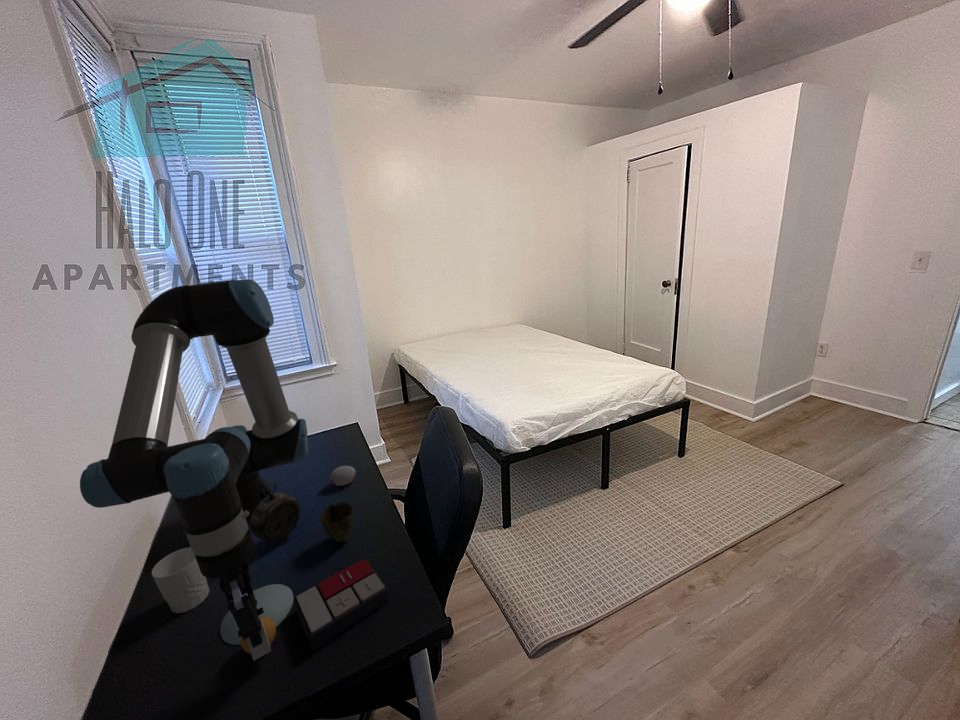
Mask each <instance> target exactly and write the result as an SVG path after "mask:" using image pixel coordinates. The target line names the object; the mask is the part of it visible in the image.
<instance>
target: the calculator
mask: <svg viewBox="0 0 960 720" xmlns="http://www.w3.org/2000/svg"><path fill="white" fill-rule="evenodd" d="M389 593H390V592H389V588H388V587H387V585H386V584H385V582H384V581H383V580H382V579H381V576H379V574H378V573H377V571H376V570H375V569H374V567H373V566H372V564H370V562H369V561H368V559H366V558H365V559H364V558H363V559H361V560H359V561H357V562H356V563H354V564H351V565H349V566H348V567H345V568H344V569H343V570H340V571H339V572H337V573H335V574H333V575H331V576H330V577H327V578H326V579H324V580H322V581H319V582H318V583H317V584H316V585H315V586H313V587H311V588H308V589H306V590H305V591H304V592H301V593H299V594H298V595H296V596H294V597H293V604H294V606H295V607H294V608H295V612H296V615H297V617H298V620H299V622H300V624H301V627H302V629H303V632H304V633H305V636H306V639H307V641H308V644H309V646H310V649H311V651H313V652H315V651H317V650H318V649H320V648H321V647H323V646H324V645H326V644H327V643H328V642H330V641H331V640H333V639H334V638H336V637H338V635H339V634H340V633H342V632H344V631H345V630H346V629H348V628H350V627H352V626H353V625H355V624H356V623H357V622H359V621H361V620H362V619H364V618H365V617H366V616H368V615H370V614H371V613H373V612H374V611H375V610H377V609H378V608H380V607H381V606H383V605H384V604H385V603H387V602H389V601H390V594H389Z"/></svg>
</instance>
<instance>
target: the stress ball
mask: <svg viewBox="0 0 960 720" xmlns="http://www.w3.org/2000/svg"><path fill="white" fill-rule="evenodd" d="M356 476H357V471H356V469H355V468H354V467H353V466H351V465H350V466H349V465H342V466H339V467H337V468H335V469H334V470H333V471H331V473H330V475H329V481H330V483H331V484H332V485H333V486H339V487H341V486H343V487H344V489H347V488H348V487H347V486H346V485H348V484H350V483H351V482H352V481H354V479H355V478H356Z"/></svg>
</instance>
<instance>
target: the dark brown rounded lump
mask: <svg viewBox="0 0 960 720" xmlns="http://www.w3.org/2000/svg"><path fill="white" fill-rule="evenodd" d="M323 510H324V512H323V513H320V514H319V520H320V522H321V524H322V527H323V530H324V531H325V533H326V535H327V536H328V537H329V538H331V539H333V540H334V541H335V542H336V543H339V544H341V543H344V542H347V540H348V539H349V538H350V533H351V531H352V529H353V527H354V515H353V512H354V511H353V505H351V503H348V502H347V501H346V502H344V501H342V502H341V503H340V502H336V504H334V503H331V504H330V505H329V506H328V507H324V509H323Z"/></svg>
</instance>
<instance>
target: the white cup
mask: <svg viewBox="0 0 960 720" xmlns="http://www.w3.org/2000/svg"><path fill="white" fill-rule="evenodd" d="M150 575H151V576H152V578H153V580H154V582H155V585H156V586H157V587H158V590H159V593H161V595H162V597H163V598H164V601H166V603H167V605H168V606H169V608H170V610H171V612H172V613H176V614H182V613H186V612H188V611H191V610H194V609H195V608H197V606H199V605H200V604H202V603H203V602H204V601H205V599H206V598H208V596H209V593H210V588H209V585H208V580H207V579H208V578H206V577H204V576H203V575H202V574H201V571H200V569H199V566H198V563H197V561H196V558H195V554H194V553H193V552H192V549H191V546H189V547H184V548H181V549H177V550H176V551H173V552H171V553H169V554H167V555H166V556H164V557H162V559H161V560H159V561H158V562H157V563H156V564H155V565H154V566H153V568H152V570H151V574H150Z"/></svg>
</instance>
